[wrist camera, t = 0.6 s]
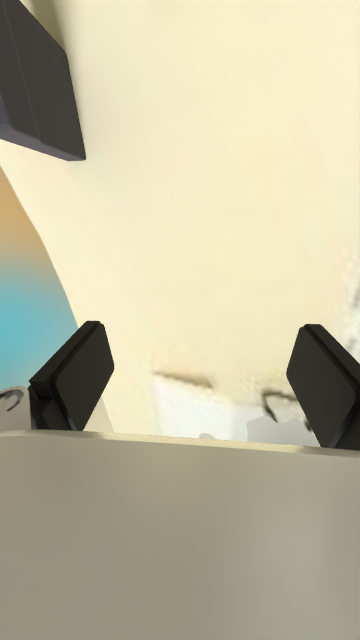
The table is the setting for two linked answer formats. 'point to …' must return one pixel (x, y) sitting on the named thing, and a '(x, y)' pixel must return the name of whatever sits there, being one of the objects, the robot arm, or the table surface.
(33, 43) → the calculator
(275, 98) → the table surface
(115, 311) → the table surface
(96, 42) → the table surface
